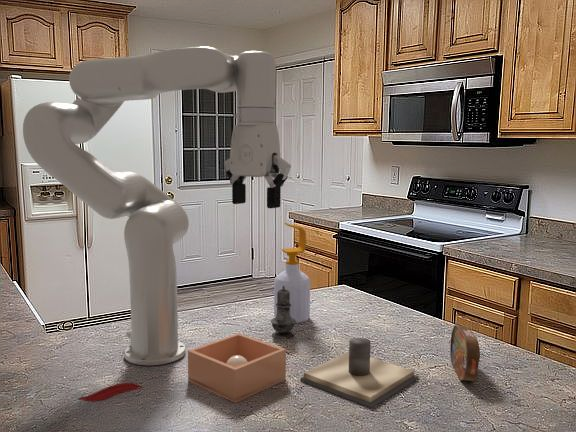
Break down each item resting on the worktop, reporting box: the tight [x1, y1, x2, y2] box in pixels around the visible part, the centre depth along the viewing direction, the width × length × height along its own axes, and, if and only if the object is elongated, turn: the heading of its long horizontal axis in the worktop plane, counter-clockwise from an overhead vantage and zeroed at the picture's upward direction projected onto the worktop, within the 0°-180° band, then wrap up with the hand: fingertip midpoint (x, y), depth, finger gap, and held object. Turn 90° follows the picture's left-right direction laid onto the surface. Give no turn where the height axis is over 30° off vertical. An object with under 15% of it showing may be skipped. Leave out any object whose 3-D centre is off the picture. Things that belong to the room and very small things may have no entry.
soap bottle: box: [273, 222, 311, 324], centre depth 141 cm, size 9×9×25 cm
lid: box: [303, 337, 415, 403], centre depth 106 cm, size 15×15×7 cm
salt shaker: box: [270, 286, 297, 341], centre depth 129 cm, size 6×6×12 cm
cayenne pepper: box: [77, 382, 144, 402], centre depth 100 cm, size 12×5×2 cm, turn 107°
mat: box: [300, 374, 419, 409], centre depth 106 cm, size 16×16×1 cm
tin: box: [449, 324, 481, 382], centre depth 110 cm, size 15×3×8 cm, turn 174°
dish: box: [187, 332, 287, 403], centre depth 105 cm, size 13×13×6 cm
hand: (255, 205), depth 111 cm, fingers open, 9 cm apart
